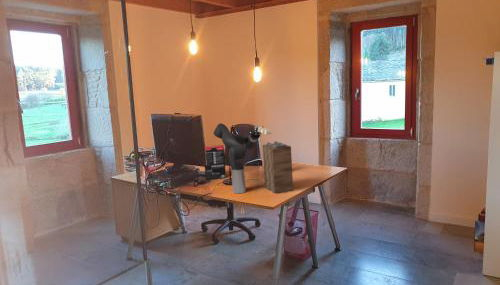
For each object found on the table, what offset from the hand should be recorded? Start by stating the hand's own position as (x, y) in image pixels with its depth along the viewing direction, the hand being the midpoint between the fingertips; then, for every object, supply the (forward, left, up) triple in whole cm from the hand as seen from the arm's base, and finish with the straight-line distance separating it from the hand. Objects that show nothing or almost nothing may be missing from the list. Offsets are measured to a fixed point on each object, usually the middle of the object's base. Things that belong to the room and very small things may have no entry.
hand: (260, 127), depth 297 cm
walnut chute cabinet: (+29, -5, -41) cm, 51 cm away
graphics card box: (-30, -28, -42) cm, 58 cm away
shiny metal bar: (+5, -1, -3) cm, 5 cm away
